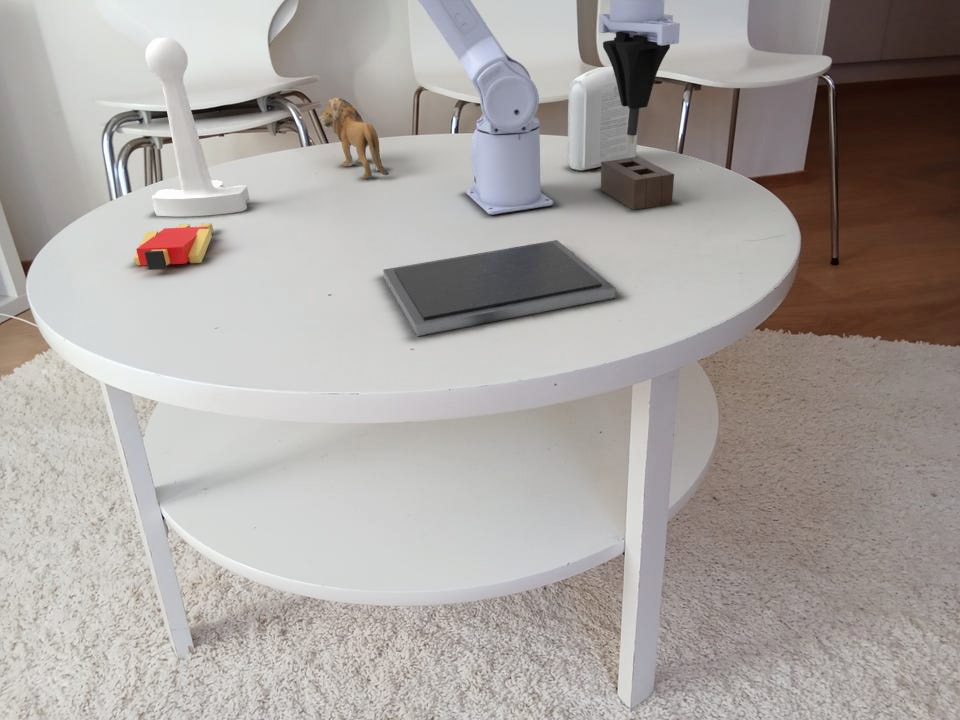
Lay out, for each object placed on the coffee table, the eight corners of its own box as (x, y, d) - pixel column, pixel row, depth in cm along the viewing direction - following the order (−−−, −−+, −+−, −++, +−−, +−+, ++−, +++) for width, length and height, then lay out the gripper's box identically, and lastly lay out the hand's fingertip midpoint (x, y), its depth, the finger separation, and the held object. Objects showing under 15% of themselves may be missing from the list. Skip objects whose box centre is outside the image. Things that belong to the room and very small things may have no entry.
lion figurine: (322, 162, 113) (312, 99, 109) (354, 155, 116) (345, 93, 111) (372, 183, 103) (364, 113, 98) (406, 174, 105) (399, 106, 101)
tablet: (384, 278, 74) (382, 267, 74) (557, 249, 79) (557, 237, 78) (417, 336, 64) (415, 323, 63) (615, 298, 68) (616, 285, 67)
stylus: (624, 142, 90) (631, 70, 86) (632, 142, 90) (640, 69, 87) (628, 144, 89) (636, 71, 86) (637, 144, 90) (645, 71, 86)
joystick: (151, 218, 94) (104, 42, 85) (172, 199, 101) (131, 34, 91) (242, 213, 94) (204, 37, 84) (257, 194, 101) (224, 29, 91)
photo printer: (619, 153, 109) (623, 60, 103) (641, 159, 106) (646, 63, 100) (562, 167, 105) (562, 71, 99) (583, 173, 102) (584, 75, 95)
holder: (633, 210, 88) (634, 179, 86) (600, 190, 95) (601, 161, 93) (672, 203, 89) (674, 173, 88) (636, 184, 96) (638, 156, 95)
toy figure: (165, 218, 88) (118, 251, 77) (224, 215, 88) (186, 248, 77) (170, 239, 89) (124, 274, 78) (228, 237, 89) (191, 272, 78)
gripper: (709, -29, 76) (700, 112, 83) (638, -32, 88) (635, 91, 95) (645, -22, 74) (641, 122, 81) (582, -27, 87) (583, 99, 93)
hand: (634, 106), depth 88 cm, fingers closed on stylus, 1 cm apart
